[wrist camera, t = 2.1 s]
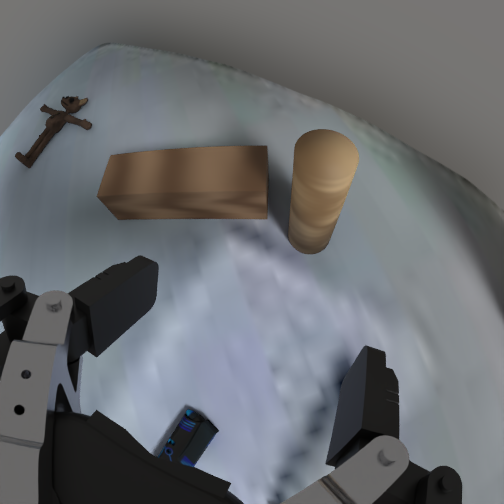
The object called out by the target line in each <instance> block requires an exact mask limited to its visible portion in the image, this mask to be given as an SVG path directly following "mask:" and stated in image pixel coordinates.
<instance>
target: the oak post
mask: <svg viewBox="0 0 504 504" xmlns="http://www.w3.org/2000/svg"><path fill="white" fill-rule="evenodd" d="M358 162H359V154H358V151H357V148H356V147H355V145H354V144H353V143H352V141H351V140H350V139H348V138H347V137H346V136H344V135H342V134H340V133H338V132H335V131H332V130H326V129H318V130H312V131H309V132H307V133H305V134H303V135H302V136H301V137H300V138H299V139H298V140H297V142H296V144H295V149H294V164H293V178H292V192H291V205H290V217H289V229H288V238H289V241H290V243H291V245H292V246H293V247H294V248H295V249H296V250H298V251H299V252H301V253H304V254H316V253H319V252H321V251H322V250H324V249H325V248H326V246H327V245H328V243H329V240H330V238H331V235H332V233H333V230H334V228H335V225H336V223H337V220H338V217H339V215H340V212H341V210H342V207H343V204H344V202H345V199H346V196H347V194H348V191H349V188H350V185H351V183H352V180H353V177H354V174H355V171H356V168H357V166H358Z"/></svg>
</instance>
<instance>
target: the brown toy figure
mask: <svg viewBox="0 0 504 504" xmlns="http://www.w3.org/2000/svg"><path fill="white" fill-rule="evenodd" d="M87 101H88V98H85V99H82V100H79V99H78V96H76V97H69V96H67V97H66V98H65V97H64V96H63V98H62V100H61V104H62V106H63V107H64V108H65V109H66V112H64V111H57V110H53V109H52V108H49V107H47V106H46V105H45V104H44V105H43V106H42V107H41V108H40V110H41V111H42V112H46V113H49V114H50V115H52V116H50V117H49V118H48V119H47V121H46V124H45V125H46V129H45V130H44V131H43V133H42V134H41V135H39V138H38V139H37V141H36V142H35V143H34V145H33V146H32V147H31V149H30V150H29V152H28V153H27V154H26V155H25V156H24V155H22V154H21V153H20V152H17V153H16V155H15V157H16V158H17V159H18V160H19V161H20V162H21V163H23V164H24V165H25V166H27V167H28V168H31V166H32V165H33V163H34V161H35V160H36V159H37V157H38V156H39V154H40V153H41V152H42V151H43V149H44V147H45V146H46V145H47V143H48V142H49V141H50V139H51V138H52V137H53V135H54V134H55V133H58V132H59V131H60V130H61V128H62V127H63V125H64V124H65V123H66V122H68V123H72V124H76V125H79V126H81V127H83V128H84V129H86V130H88V129H90V128H91V126H92V124H91V123H90V122H87V121H86V119H84V120H81V119H78V118H75V117H74V116H71V115H68V114H69V113H76V112H78V111H79V110H80V109H81V106H82V105H84V104H85V103H86V102H87Z"/></svg>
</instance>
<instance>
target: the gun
mask: <svg viewBox="0 0 504 504" xmlns="http://www.w3.org/2000/svg"><path fill="white" fill-rule="evenodd" d="M186 413H187V414H185V415H184V417H183V418H182V420H181V421H180V423H179V424H178V426H177V428H176V429H175V431H174V432H173V434H172V436H171V437H170V439H169V440H168V442H167V443H166V445H165V447H164V448H163V450H162V451H161V453H160V454H159V456H158V458H161V459H165V460H168V461H172V462H176V463H179V464H183V465H187V466H192V467H194V466H195V464H196V463H197V461H198V460H199V458H200V457H201V455H202V454H203V452H204V451H205V449H206V448H207V447H208V445H209V444H210V442H211V441H212V439H213V438H214V436H215V435H216V433H217V432H218V431H219V430H218V429H217V428H216V427H215V426H214V425H213V424H212V423H211V422H210V421H209V420H208V421H209V422H210V423H211V424H212V425H213V426H214V427H215V428H216V429H217V430H218V431H216V429H214V428H213V427H212V426H211V425H210V424H209V423H208V421H207V420H205V419H204V418H203V417H202V416H201V415H198V414H197V413H196V412H194V411H192V410H189V409H188V410H187V411H186ZM187 416H188V418H189V419H188V418H187ZM170 442H171V444H170Z"/></svg>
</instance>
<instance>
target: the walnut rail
mask: <svg viewBox="0 0 504 504" xmlns="http://www.w3.org/2000/svg"><path fill="white" fill-rule="evenodd" d="M268 182H269V173H268V152H267V146H219V147H196V148H180V149H166V150H155V151H144V152H134V153H125V154H117V155H111V156H110V159H109V161H108V164H107V167H106V170H105V173H104V176H103V179H102V182H101V185H100V188H99V191H98V194H97V197H98V198H99V199H100V200H101V202H102V203H103V204H104V205H105V206H106V207H107V208H108V209H109V210H110V211H111V212H112V213H113V215H114V216H115V217H116V218H117V219H118V220H127V219H267V215H268Z"/></svg>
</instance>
